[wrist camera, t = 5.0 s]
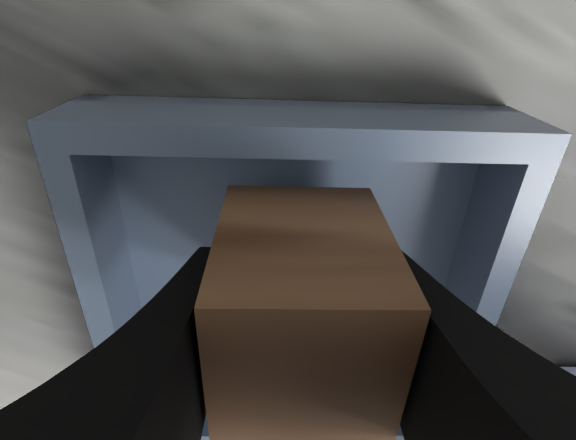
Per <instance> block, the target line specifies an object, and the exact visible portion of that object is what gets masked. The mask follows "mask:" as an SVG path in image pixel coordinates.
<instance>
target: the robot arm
mask: <svg viewBox="0 0 576 440" xmlns="http://www.w3.org/2000/svg"><path fill="white" fill-rule="evenodd" d="M210 249H211V247H199V248H198V249H197V250H196V251H195V252H194V253H193V255H192V256H191V257H190V258H189V259H188V260H187V262H186V263H185V264H184V265H183V266H182V267H181V268H180V269H179V271H178V272H177V273H176V274H175V275H174V276H173V277H172V278H171V279H170V280H169V281H168V282H167V283H166V284H165V286H164V287H163V288H162V289H161V290H160V291H159V292H158V293H157V294H156V295H155V296H154V297H153V298H152V299H151V300H150V301H149V302H148V303H147V304H146V305H144V306H143V307H142V308H141V309H140V310H139V311H138V312H137V313H136V314H135V315H134V316H133V317H132V318H131V319H129V320H128V321H127V322H126V323H125V324H124V325H123V326H121V327H120V328H119V329H118V330H117V331H116V332H114V333H113V334H112V335H111V336H109V337H108V338H107V339H106V340H104V341H103V342H102V343H101V344H99V345H98V346H97V347H95V348H94V349H93V350H91V351H90V352H89V353H87V354H86V355H84V356H83V357H82V358H80V359H79V360H77V361H76V362H74V363H73V364H71V365H70V366H68V367H67V368H65V369H64V370H63V371H61V372H60V373H58V374H57V375H55V376H54V377H52V378H51V379H49V380H48V381H46V382H45V383H43V384H42V385H40V386H39V387H37V388H36V389H34V390H32V391H31V392H29V393H27V394H26V395H24V396H22V397H21V398H19V399H18V400H16V401H14V402H13V403H11V404H9V405H8V406H6V407H4V408H2V409H1V410H0V440H201V437H202V432H203V427H204V422H205V417H206V407H205V399H204V390H203V382H202V373H201V365H200V356H199V347H198V339H197V330H196V322H195V313H194V307H195V303H196V300H197V296H198V292H199V289H200V285H201V281H202V278H203V274H204V270H205V267H206V263H207V260H208V256H209V252H210ZM401 251H402V250H401ZM402 253H403V255H404V257H405V259H406V261H407V263H408V265H409V267H410V269H411V271H412V273H413V275H414V277H415V279H416V281H417V283H418V285H419V287H420V288H421V290H422V292H423V294H424V296H425V298H426V300H427V302H428V304H429V306H430V308H431V314H430V317H429V321H428V325H427V328H426V332H425V335H424V339H423V342H422V346H421V350H420V353H419V357H418V360H417V364H416V368H415V371H414V375H413V378H412V382H411V386H410V389H409V393H408V396H407V400H406V404H405V407H404V411H403V414H402V418H401V422H400V426H401V430H402V433H403V437H404V440H576V367H559V366H557V365H555V364H554V363H552V362H550V361H549V360H547V359H545V358H543V357H542V356H540V355H539V354H537V353H535V352H534V351H532V350H531V349H529V348H528V347H526V346H524V345H523V344H521V343H520V342H518V341H517V340H515V339H514V338H512V337H510V336H509V335H507V334H506V333H504V332H503V331H502V330H500V329H499V328H497V327H496V326H494V325H493V324H492V323H490V322H489V321H487V320H486V319H485V318H483V317H482V316H481V315H479V314H478V313H477V312H475V311H474V310H473V309H471V308H470V307H469V306H467V305H466V304H465V303H464V302H462V301H461V300H460V299H459V298H457V297H456V296H455V295H454V294H452V293H451V292H450V291H449V290H448V289H446V288H445V287H444V286H443V285H442V284H440V283H439V282H438V281H437V280H436V279H434V278H433V277H432V276H431V275H430V274H429V273H427V272H426V271H425V270H424V269H423V268H422V267H421V266H419V265H418V264H417V263H416V262H415V261H414V260H412V259H411V258H410V257H409V256H408V255H407V254H405V253H404V252H403V251H402Z"/></svg>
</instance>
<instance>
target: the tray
mask: <svg viewBox="0 0 576 440" xmlns="http://www.w3.org/2000/svg"><path fill="white" fill-rule="evenodd" d="M26 125H27V128H28V131H29V135H30V138H31V141H32V145H33V148H34V151H35V155H36V158H37V161H38V165H39V168H40V171H41V175H42V178H43V181H44V184H45V188H46V191H47V194H48V198H49V201H50V204H51V208H52V211H53V214H54V218H55V221H56V224H57V228H58V231H59V234H60V238H61V241H62V244H63V248H64V251H65V254H66V257H67V261H68V264H69V267H70V271H71V274H72V277H73V281H74V284H75V287H76V291H77V294H78V297H79V301H80V304H81V307H82V311H83V314H84V317H85V321H86V324H87V327H88V330H89V334H90V337H91V340H92V344H93V347H94V348H95V347H97V346H98V345H99V344H101V343H102V342H103V341H104V340H106V339H107V338H108V337H109V336H111V335H112V334H113V333H114V332H116V331H117V330H118V329H119V328H120V327H121V326H123V325H124V324H125V323H126V322H127V321H128V320H129V319H131V318H132V317H133V316H134V315H135V314H136V313H137V312H138V311H139V310H140V309H141V308H142V307H143V306H144V305H146V304H147V303H148V302H149V301H150V300H151V299H152V298H153V297H154V296H155V295H156V294H157V293H158V292H159V291H160V290H161V289H162V288H163V287H164V286H165V284H166V283H167V282H168V281H169V280H170V279H171V278H172V277H173V276H174V275H175V274H176V273H177V272H178V271H179V269H180V268H181V267H182V266H183V265H184V264H185V263H186V262H187V260H188V259H189V258H190V257H191V256H192V255H193V253H194V252H195V251H196V250H197V249H198V248H199V247H211V245H212V241H213V238H214V234H215V231H216V227H217V223H218V220H219V216H220V212H221V209H222V205H223V201H224V198H225V194H226V191H227V187H228V185H231V186H287V187H343V188H370V189H371V191H372V193H373V195H374V197H375V199H376V201H377V203H378V205H379V207H380V209H381V211H382V213H383V215H384V217H385V219H386V221H387V223H388V225H389V227H390V229H391V231H392V233H393V235H394V237H395V239H396V241H397V243H398V245H399V247H400V249H401V250H402V251H403V252H404V253H405V254H407V255H408V256H409V257H410V258H411V259H412V260H414V261H415V262H416V263H417V264H418V265H419V266H421V267H422V268H423V269H424V270H425V271H426V272H427V273H429V274H430V275H431V276H432V277H433V278H434V279H436V280H437V281H438V282H439V283H440V284H442V285H443V286H444V287H445V288H446V289H448V290H449V291H450V292H451V293H452V294H454V295H455V296H456V297H457V298H459V299H460V300H461V301H462V302H464V303H465V304H466V305H467V306H469V307H470V308H471V309H473V310H474V311H475V312H477V313H478V314H479V315H481V316H482V317H483V318H485V319H486V320H487V321H489V322H490V323H492V324H493V325H494V326H496V324H497V322H498V319H499V317H500V314H501V312H502V309H503V307H504V304H505V302H506V299H507V297H508V294H509V292H510V289H511V287H512V284H513V282H514V279H515V276H516V274H517V271H518V269H519V266H520V264H521V261H522V259H523V256H524V254H525V251H526V249H527V246H528V244H529V241H530V239H531V236H532V234H533V231H534V229H535V226H536V224H537V221H538V218H539V216H540V213H541V211H542V208H543V206H544V203H545V201H546V198H547V196H548V193H549V191H550V188H551V186H552V183H553V181H554V178H555V176H556V173H557V171H558V168H559V166H560V163H561V161H562V158H563V155H564V153H565V150H566V148H567V145H568V143H569V140H570V138H571V135H572V134H570V133H568V132H566V131H564V130H561V129H559V128H557V127H554V126H552V125H550V124H548V123H545V122H543V121H541V120H539V119H536V118H534V117H532V116H529V115H527V114H525V113H523V112H520V111H518V110H516V109H514V108H511V107H509V106H491V105H453V104H416V103H378V102H341V101H303V100H265V99H228V98H190V97H152V96H115V95H81V96H79V97H76V98H74V99H72V100H70V101H68V102H66V103H63V104H61V105H59V106H57V107H55V108H53V109H50V110H48V111H46V112H44V113H42V114H40V115H37V116H35V117H33V118H31V119H29V120H27V121H26ZM201 440H209V433H208V424H207V416H206V417H205V422H204V427H203V432H202V437H201ZM396 440H404V437H403V433H402V430H401V426H400V425H399V429H398V432H397V436H396Z"/></svg>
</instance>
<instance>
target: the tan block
mask: <svg viewBox="0 0 576 440" xmlns="http://www.w3.org/2000/svg"><path fill="white" fill-rule="evenodd" d="M194 313H195V322H196V330H197V339H198V347H199V356H200V365H201V373H202V382H203V390H204V399H205V407H206V416H207V424H208V433H209V440H396V436H397V432H398V429H399V425H400V422H401V418H402V414H403V411H404V407H405V404H406V400H407V396H408V393H409V389H410V386H411V382H412V378H413V375H414V371H415V368H416V364H417V360H418V357H419V353H420V350H421V346H422V342H423V339H424V335H425V332H426V328H427V325H428V321H429V317H430V314H431V308H430V306H429V304H428V302H427V300H426V298H425V296H424V294H423V292H422V290H421V288H420V287H419V285H418V283H417V281H416V279H415V277H414V275H413V273H412V271H411V269H410V267H409V265H408V263H407V261H406V259H405V257H404V255H403V253H402V251H401V249H400V247H399V245H398V243H397V241H396V239H395V237H394V235H393V233H392V231H391V229H390V227H389V225H388V223H387V221H386V219H385V217H384V215H383V213H382V211H381V209H380V207H379V205H378V203H377V201H376V199H375V197H374V195H373V193H372V191H371V189H370V188H343V187H287V186H231V185H228V187H227V191H226V194H225V198H224V201H223V205H222V209H221V212H220V216H219V220H218V223H217V227H216V231H215V234H214V238H213V241H212V245H211V249H210V252H209V256H208V260H207V263H206V267H205V270H204V274H203V278H202V281H201V285H200V289H199V292H198V296H197V300H196V303H195V307H194Z"/></svg>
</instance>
